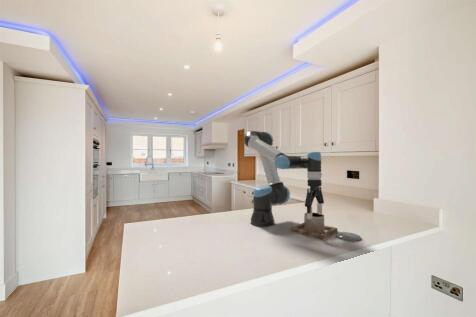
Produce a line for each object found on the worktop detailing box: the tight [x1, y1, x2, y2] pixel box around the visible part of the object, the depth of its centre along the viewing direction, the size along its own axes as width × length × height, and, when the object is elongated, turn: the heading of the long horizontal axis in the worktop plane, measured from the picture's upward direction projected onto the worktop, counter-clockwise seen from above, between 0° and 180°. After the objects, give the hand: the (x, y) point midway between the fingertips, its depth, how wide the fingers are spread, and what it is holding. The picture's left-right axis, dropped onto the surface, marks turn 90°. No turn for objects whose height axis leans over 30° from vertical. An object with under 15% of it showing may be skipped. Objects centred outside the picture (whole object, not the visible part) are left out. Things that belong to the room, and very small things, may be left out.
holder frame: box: [290, 222, 338, 241], centre depth 126 cm, size 19×19×2 cm
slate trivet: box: [335, 231, 362, 242], centre depth 116 cm, size 12×12×1 cm
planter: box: [303, 212, 325, 234], centre depth 126 cm, size 11×11×10 cm
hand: (314, 216), depth 125 cm, fingers open, 13 cm apart
